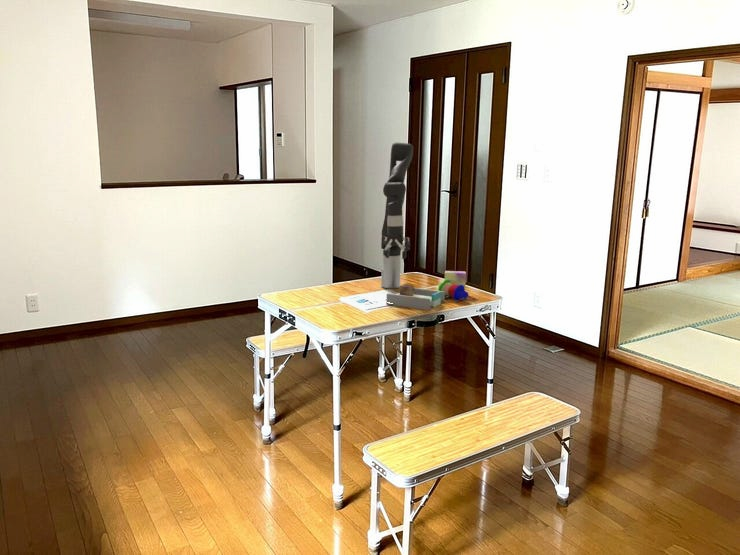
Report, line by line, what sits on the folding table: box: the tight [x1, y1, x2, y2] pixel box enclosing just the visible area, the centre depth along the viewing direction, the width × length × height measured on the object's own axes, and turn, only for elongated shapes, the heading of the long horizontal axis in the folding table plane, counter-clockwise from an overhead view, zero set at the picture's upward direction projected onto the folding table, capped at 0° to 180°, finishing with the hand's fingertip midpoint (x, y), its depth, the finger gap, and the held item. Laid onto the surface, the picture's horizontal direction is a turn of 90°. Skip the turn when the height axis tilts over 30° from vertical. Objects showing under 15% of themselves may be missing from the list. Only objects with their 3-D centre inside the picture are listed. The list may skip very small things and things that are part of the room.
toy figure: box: [437, 279, 469, 302], centre depth 304 cm, size 9×10×15 cm
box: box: [444, 270, 467, 291], centre depth 313 cm, size 10×6×12 cm, turn 84°
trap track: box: [386, 287, 446, 311], centre depth 297 cm, size 22×18×6 cm
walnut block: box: [399, 283, 415, 296], centre depth 298 cm, size 5×5×5 cm
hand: (395, 258), depth 299 cm, fingers open, 8 cm apart
